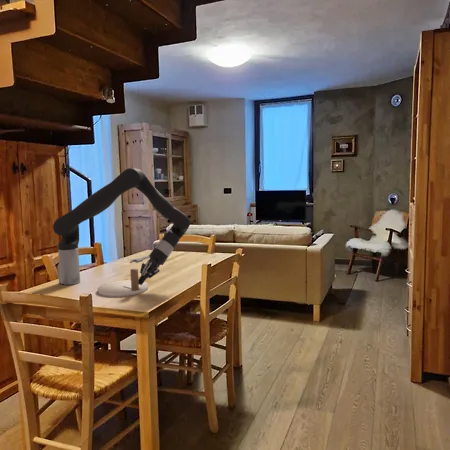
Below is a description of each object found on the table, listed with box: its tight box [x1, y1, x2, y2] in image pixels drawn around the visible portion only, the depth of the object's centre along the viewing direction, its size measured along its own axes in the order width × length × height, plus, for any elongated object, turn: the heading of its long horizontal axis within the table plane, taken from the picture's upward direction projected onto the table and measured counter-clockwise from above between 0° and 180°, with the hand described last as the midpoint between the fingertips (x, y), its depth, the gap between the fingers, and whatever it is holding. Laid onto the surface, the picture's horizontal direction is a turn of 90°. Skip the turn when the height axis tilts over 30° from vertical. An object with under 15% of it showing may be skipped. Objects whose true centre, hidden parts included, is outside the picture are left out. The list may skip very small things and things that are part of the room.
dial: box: [97, 268, 149, 298], centre depth 185 cm, size 22×22×10 cm
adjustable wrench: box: [129, 254, 150, 263], centre depth 263 cm, size 25×6×2 cm, turn 152°
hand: (138, 283), depth 181 cm, fingers closed
